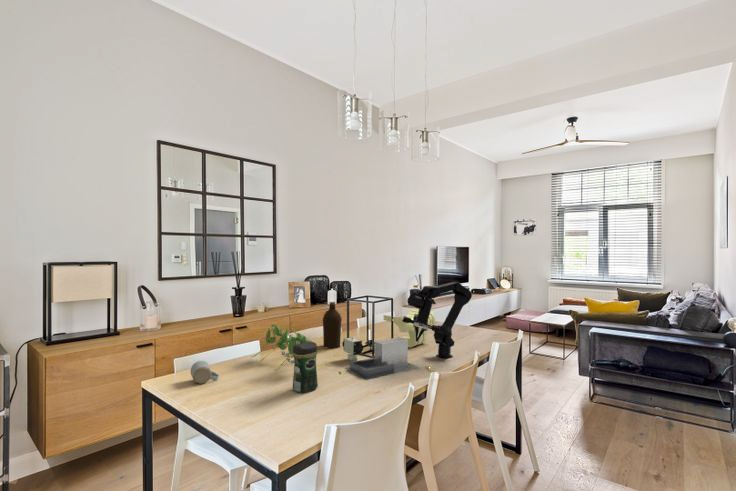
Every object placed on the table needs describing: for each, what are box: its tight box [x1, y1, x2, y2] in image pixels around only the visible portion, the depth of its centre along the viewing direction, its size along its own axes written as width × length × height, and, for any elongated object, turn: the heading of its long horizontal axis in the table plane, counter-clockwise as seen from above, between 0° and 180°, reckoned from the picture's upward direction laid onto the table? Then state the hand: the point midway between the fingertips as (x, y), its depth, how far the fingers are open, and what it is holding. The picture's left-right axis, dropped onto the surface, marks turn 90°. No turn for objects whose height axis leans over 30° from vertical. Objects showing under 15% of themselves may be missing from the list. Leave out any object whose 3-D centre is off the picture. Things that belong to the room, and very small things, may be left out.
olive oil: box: [322, 301, 343, 349], centre depth 210 cm, size 11×11×25 cm
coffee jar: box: [292, 340, 318, 394], centre depth 147 cm, size 10×8×19 cm
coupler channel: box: [344, 357, 420, 381], centre depth 170 cm, size 30×18×4 cm, turn 123°
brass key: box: [424, 365, 435, 373], centre depth 169 cm, size 8×3×1 cm, turn 11°
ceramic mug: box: [189, 360, 220, 385], centre depth 155 cm, size 11×8×8 cm
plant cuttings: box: [251, 323, 313, 372], centre depth 174 cm, size 35×17×22 cm
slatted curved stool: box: [383, 308, 436, 348], centre depth 217 cm, size 30×16×18 cm, turn 139°
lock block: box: [373, 336, 409, 368], centre depth 173 cm, size 16×6×12 cm, turn 123°
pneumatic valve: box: [341, 337, 364, 362], centre depth 183 cm, size 6×12×12 cm, turn 39°
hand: (416, 341), depth 182 cm, fingers closed
